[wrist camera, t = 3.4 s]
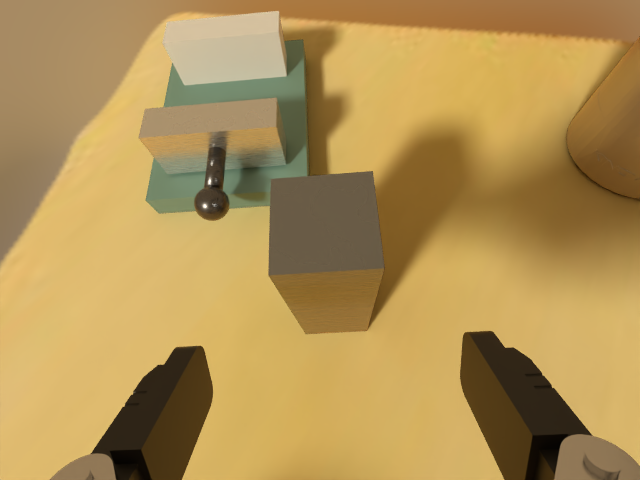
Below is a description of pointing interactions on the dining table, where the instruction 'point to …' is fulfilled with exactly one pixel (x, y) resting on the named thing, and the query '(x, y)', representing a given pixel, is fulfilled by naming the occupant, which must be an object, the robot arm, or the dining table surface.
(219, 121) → the vise jaw
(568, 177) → the dining table surface
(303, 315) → the steel bar
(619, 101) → the robot arm
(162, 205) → the vise
